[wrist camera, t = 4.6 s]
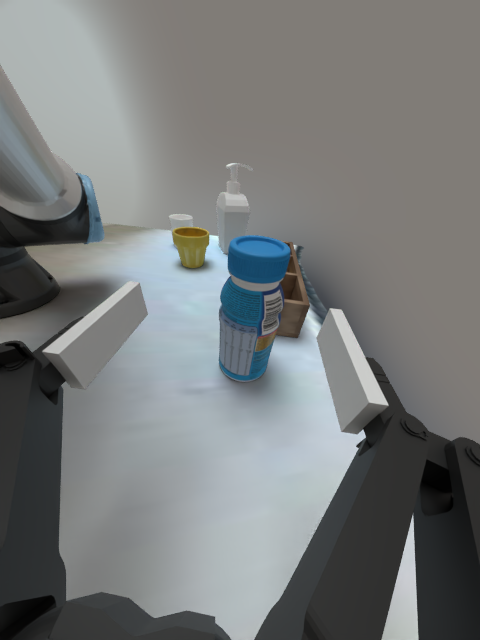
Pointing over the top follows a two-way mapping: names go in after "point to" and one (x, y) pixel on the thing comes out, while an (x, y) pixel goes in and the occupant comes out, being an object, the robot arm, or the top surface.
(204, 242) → the plant pot
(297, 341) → the top surface
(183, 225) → the white cup
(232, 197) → the soap bottle
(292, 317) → the wooden divided storage box
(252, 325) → the beverage bottle
